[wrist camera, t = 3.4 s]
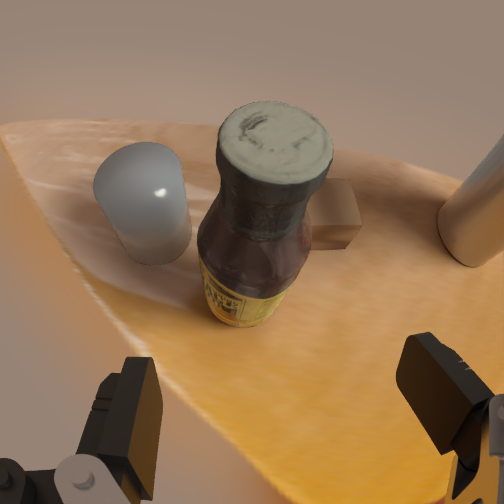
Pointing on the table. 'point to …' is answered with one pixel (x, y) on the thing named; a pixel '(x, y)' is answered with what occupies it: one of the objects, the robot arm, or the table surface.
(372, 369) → the table surface
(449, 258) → the table surface
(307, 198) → the sauce bottle
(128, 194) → the grey rounded cylinder
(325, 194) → the walnut block
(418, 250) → the table surface
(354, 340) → the table surface
